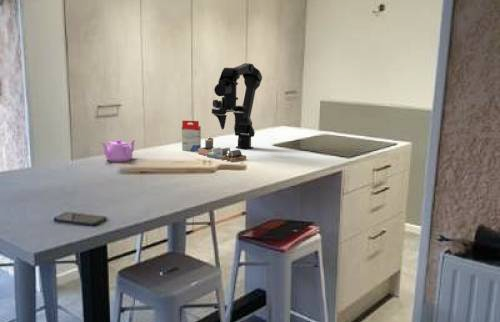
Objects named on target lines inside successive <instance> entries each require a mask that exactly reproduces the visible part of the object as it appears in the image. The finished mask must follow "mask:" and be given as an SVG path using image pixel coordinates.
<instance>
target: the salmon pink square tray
mask: <svg viewBox="0 0 500 322" xmlns="http://www.w3.org/2000/svg"><path fill="white" fill-rule="evenodd" d="M213 148H215V147H214V146H213ZM197 152H198V153H197V154H198V155H202V156H206V157H207V154H208V153H209V152H211V150H206V149H205V147H201V148H198V151H197Z"/></svg>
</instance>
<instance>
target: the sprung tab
mask: <svg viewBox="0 0 500 322" xmlns="http://www.w3.org/2000/svg"><path fill="white" fill-rule="evenodd" d="M228 151H231V147H221V155H222V156H223V155H226V152H228Z"/></svg>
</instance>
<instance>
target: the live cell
mask: <svg viewBox="0 0 500 322" xmlns="http://www.w3.org/2000/svg"><path fill="white" fill-rule="evenodd" d="M241 155H243V154H242V151H241V150H240V149H237V150H236V149H235V150H230V151H228V152H226V157H228V158H235V157H240V156H241Z"/></svg>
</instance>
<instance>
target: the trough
mask: <svg viewBox="0 0 500 322" xmlns="http://www.w3.org/2000/svg"><path fill="white" fill-rule="evenodd" d="M224 160H227V161H226V162H229V161H234V162H238V160H240V161H244V160H247V155H244V154H242V155H241V156H240V157H235V158H228V157H226V156H222V160H221V161H224Z"/></svg>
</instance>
